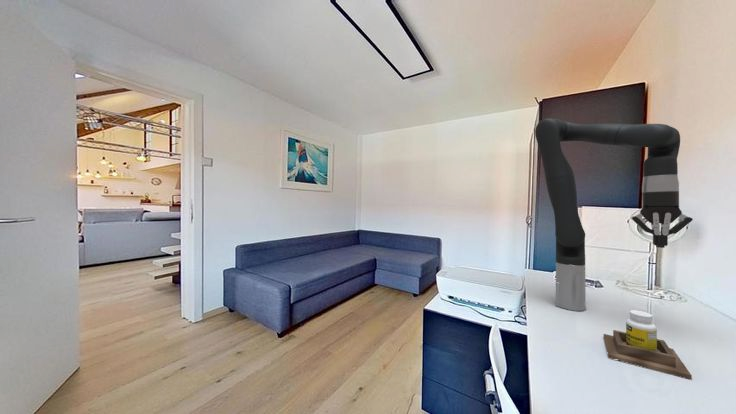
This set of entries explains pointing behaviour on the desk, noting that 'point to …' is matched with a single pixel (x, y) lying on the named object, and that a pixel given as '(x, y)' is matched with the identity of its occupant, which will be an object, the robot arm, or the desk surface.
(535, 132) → the robot arm
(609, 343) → the cup holder
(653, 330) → the supplement bottle
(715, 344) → the desk surface
